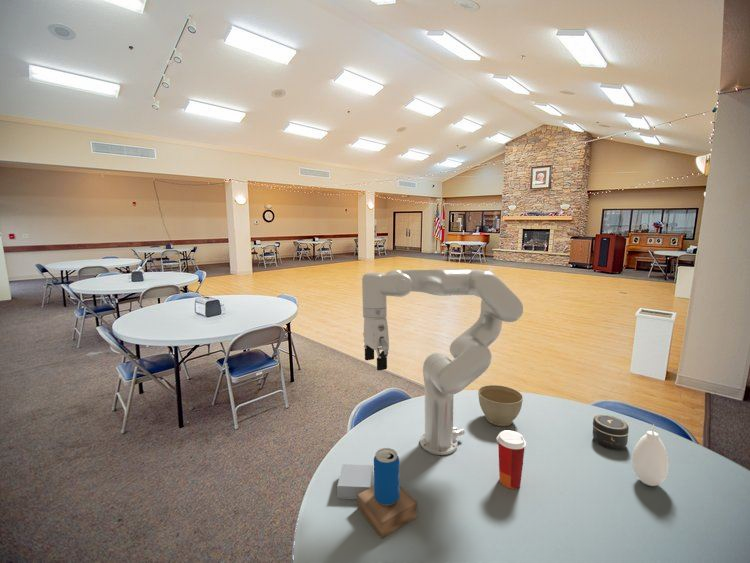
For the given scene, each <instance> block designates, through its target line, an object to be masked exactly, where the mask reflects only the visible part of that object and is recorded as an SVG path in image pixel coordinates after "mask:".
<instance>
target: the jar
mask: <svg viewBox="0 0 750 563" xmlns="http://www.w3.org/2000/svg"><path fill="white" fill-rule="evenodd" d="M629 430H630V429H629V424H628V423H627V422H625V421H624V420H623V419H621V418H618V417H616V416H612V415H608V414H598V415H597V414H596V415H595V416H594V417H593V420H592V436H593V441H594V442H595V443H597V444H598V445H599V446H600V447H603V448H605V449H608V450H612V451H622V450H624V449H625V448H626V447H627V444H628V442H629V441H628V437H629Z"/></svg>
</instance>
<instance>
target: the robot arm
mask: <svg viewBox="0 0 750 563" xmlns="http://www.w3.org/2000/svg"><path fill="white" fill-rule="evenodd" d="M361 286H362V287H361V288H362V289H361V290H362V293H361V295H362V296H361V297H362V318H363V319H364V320H363V333H362V334H363V342H364V345H363V347H364V361H373V360H375V351H376V355H377V357H376V370H377V371H378V372H379V371H384V370H387V369H388V357H389V356H388V354H389V349H390V342H389V341H390V337H389V327H388V319H387V318H388V317H387V314H388V313H387V305H388V304H387V297H396V298H398V297H399V298H403V297H406V296H407V295H409V294H410V293H411V292H414V293H415V292H416V293H424V294H427V295H428V294H429V295H433V296H439V297H440V296H441V297H442V296H443V297H448V296H450V297H451V296H474V297H478V298H480V299H481V301H480V314H479V317H478V319H477V321H475V323H473V324H472V325H471V326H470V327H469V328H467V329H466V330H465V331H464V332H463V333H461V334H460V335H459V336H457V337H456V338H455V339H454V340H453V341H452V342H451V344H450V346H449V352H450V355H451V356H452V358H453V359H452V360H451V359H450V358H449V357H448V356H447V355H444V354H443V353H439V352H436V353H435V352H433V353H431V354H429V355H427V357H426V358H425V360H424V362H423V366H422V375H423V383H424V433H423V434H422V435H421V436H420V440H419V443H420V446H421V447H422V449H423V450H425V451H426V452H427V453H429V454H432V455H439V456H445V455H446V456H447V455H451V454H452V453H454V452H456V451H457V449H458V444H459V443H458V440H457V438H458V436H459V437H460V436H463V435H465V429H464V428H459V429H457V427H456V426H454V403H455V402H454V400H455V399H454V396H455V395H456V394H458V393H460V392H462V391H463V390H464V389H465V388H467V387H468V386H469V385H471V384H472V383H474V382H475V381H476V380H477V379H478V378H479V377H480V376H482V375H483V374H484V373H485V372H486V371H487V370H488V368H489V367H490V366H491V362H492V352H491V350H490V348H489V346H491V344H493V343H494V342H495V341H496V340H497V339H498V338H499V336H500V335H501V334H500V333H501V331H502V327H503V322H505V323H514V322H516V321H518V320H520V318H521V317H522V315H523V314H524V306H523V302H522V300H521V299H520V298H519V297H518V296H517V295H516V294H515V292H513V291H512V290H511V289H510V288H509V287H508V286H507V285H506V284H505V283H504V282H503V281H502V280H501V278H499V277H498V276H497V275H496V274H494V273H493V272H491V271H488V270H481V269H473V268H472V269H467V268H466V269H465V268H464V269H392V270H390V271H387V272H386V273H385V274H384V273H382V272H369V273H364V274H363V275H362V278H361Z"/></svg>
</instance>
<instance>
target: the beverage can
mask: <svg viewBox="0 0 750 563" xmlns="http://www.w3.org/2000/svg"><path fill="white" fill-rule="evenodd" d="M373 485H374V497H375V499H376V501H377V502H379V503H380V504H382V505H392V504H394V503H396V502H397V501H398V499H399V496H400V492H399V486H400V458H399V456H398V452H397V451H396V450H395V449H393V448H389V447H387V448H385V447H384V448H379V449H378V450H376V452H375V455H374V457H373Z"/></svg>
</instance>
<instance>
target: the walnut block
mask: <svg viewBox="0 0 750 563" xmlns="http://www.w3.org/2000/svg"><path fill="white" fill-rule="evenodd" d="M399 492H400V496H399V499H398V501H397V502H396V503H394V504H392V505H382V504H380V503H379V502H377V501H376V499H375V497H374V486H373V485H372V487H371V488H369V489H367V490H365V491H363V492H361V493H359V494H357V499H356V500H357V509H358V510H359V512H360V513H361V515H363V517H364V518H365V519H366V521H367V522H368V523H369V525H370V526H371V527H372V528H373V529H374V530H375V532H376V533H377V534H378V536H380V538H381V539H383V538H385V537H387V536H388V535H389V534H391V533H393V532H394V531H396V530H398V529H399V528H401V527H403V526H404V525H406V524H408V523H410V522H411V521H412V520H414V519H416V518H417V517H418V502H417V501H416V500H415V499H414V498H413V496H411V495H410V494H409V493H408V492H407V491H406V490H405V489H404V488H403V487H401V485H399Z"/></svg>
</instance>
